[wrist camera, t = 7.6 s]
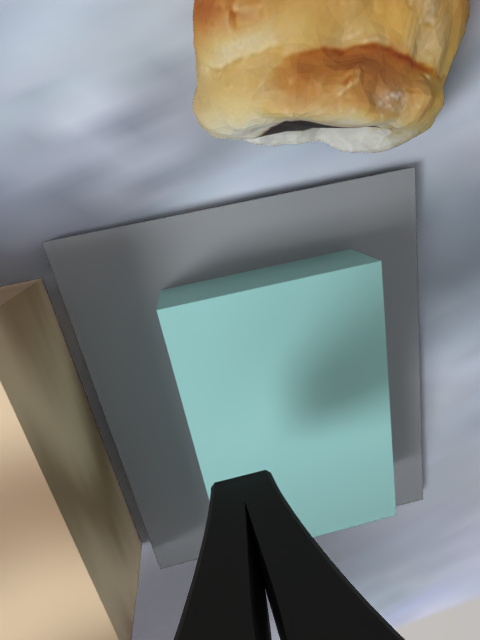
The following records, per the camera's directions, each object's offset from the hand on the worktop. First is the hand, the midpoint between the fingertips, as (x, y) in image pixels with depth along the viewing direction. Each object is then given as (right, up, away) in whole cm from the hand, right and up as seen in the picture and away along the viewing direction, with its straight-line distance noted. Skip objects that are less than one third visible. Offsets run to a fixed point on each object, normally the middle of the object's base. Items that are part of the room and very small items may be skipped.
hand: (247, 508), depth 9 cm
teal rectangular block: (+1, +1, +3) cm, 3 cm away
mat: (+1, +2, +5) cm, 5 cm away
